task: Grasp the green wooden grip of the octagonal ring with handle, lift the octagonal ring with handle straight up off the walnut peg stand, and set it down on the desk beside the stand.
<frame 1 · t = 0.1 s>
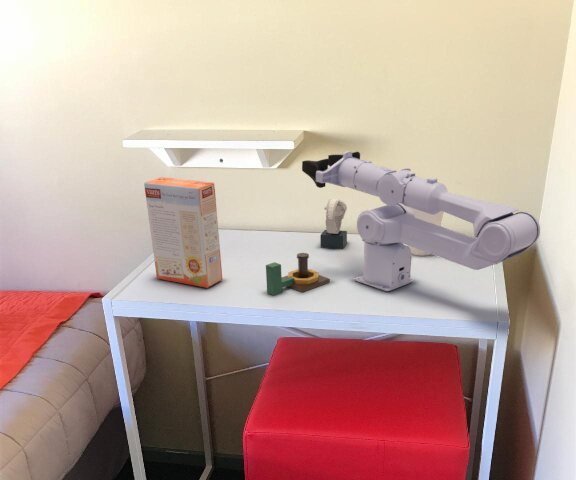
hand: (316, 162, 142), 22 cm above the table, tool horizontal, fingers open, 7 cm apart
cracker box: (189, 280, 144), on the table
bust statue: (333, 246, 161), on the table
foam cup: (421, 251, 156), on the table
peg stand: (303, 282, 140), on the table
octagonal ring with handle: (303, 282, 140), resting in peg stand
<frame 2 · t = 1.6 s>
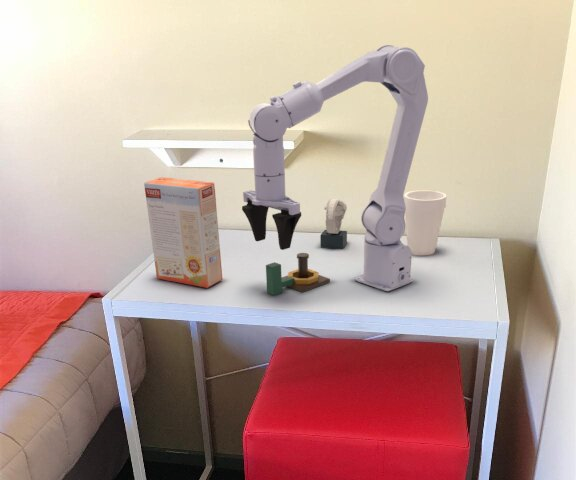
hand: (272, 244, 131), 10 cm above the table, tool pointing down, fingers open, 7 cm apart
nothing on the table moved.
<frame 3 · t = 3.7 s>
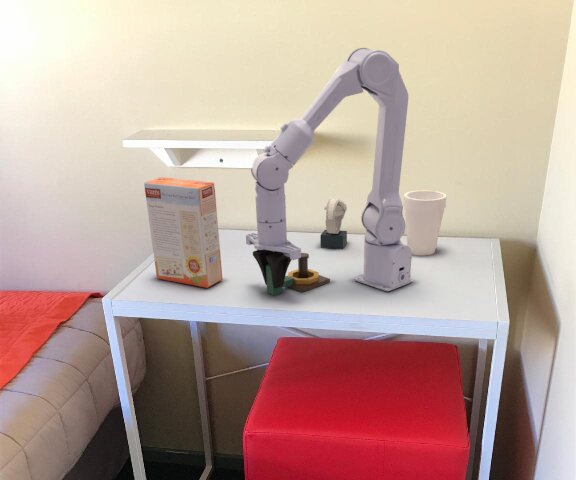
hand: (274, 285, 135), 2 cm above the table, tool pointing down, fingers closed on octagonal ring with handle
octagonal ring with handle: (303, 282, 140), resting in peg stand, touching gripper
everything else where it was.
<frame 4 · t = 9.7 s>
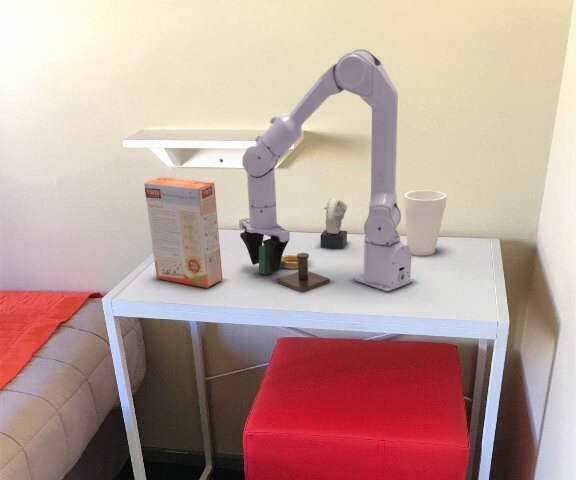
hand: (265, 266, 145), 2 cm above the table, tool pointing down, fingers open, 6 cm apart
octagonal ring with handle: (292, 266, 150), on the table
everything else where it was.
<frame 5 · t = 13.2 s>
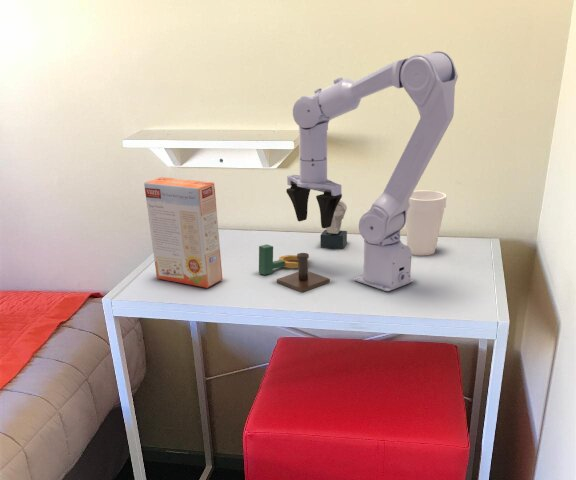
hand: (314, 223, 143), 10 cm above the table, tool pointing down, fingers open, 7 cm apart
nothing on the table moved.
at the end: octagonal ring with handle inside the target area (0.1 cm from its centre), on the table; the gripper is holding nothing; octagonal ring with handle touching table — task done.
